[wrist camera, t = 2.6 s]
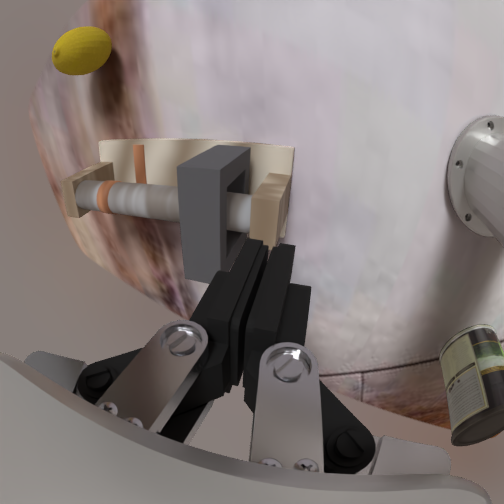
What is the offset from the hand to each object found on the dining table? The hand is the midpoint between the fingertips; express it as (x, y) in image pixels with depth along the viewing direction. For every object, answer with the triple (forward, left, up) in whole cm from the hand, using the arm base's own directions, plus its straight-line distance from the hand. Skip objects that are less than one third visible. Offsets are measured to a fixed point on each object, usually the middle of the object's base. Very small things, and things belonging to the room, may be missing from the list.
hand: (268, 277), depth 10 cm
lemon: (+22, -12, -18) cm, 31 cm away
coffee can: (-29, +21, -18) cm, 40 cm away
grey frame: (+6, +3, -15) cm, 17 cm away
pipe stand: (+12, +3, -18) cm, 22 cm away
